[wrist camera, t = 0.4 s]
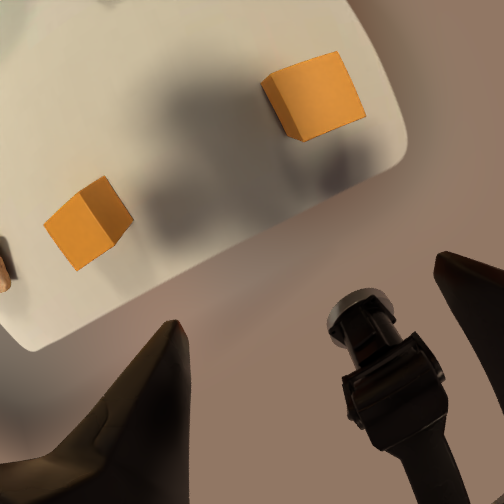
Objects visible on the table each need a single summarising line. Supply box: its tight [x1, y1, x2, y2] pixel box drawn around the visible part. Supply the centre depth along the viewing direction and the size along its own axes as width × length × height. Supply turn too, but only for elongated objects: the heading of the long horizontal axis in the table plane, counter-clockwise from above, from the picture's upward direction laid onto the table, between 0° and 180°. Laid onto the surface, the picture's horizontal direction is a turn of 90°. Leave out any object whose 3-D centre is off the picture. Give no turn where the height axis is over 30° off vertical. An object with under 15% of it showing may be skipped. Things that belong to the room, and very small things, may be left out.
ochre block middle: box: [44, 176, 133, 271], centre depth 18 cm, size 4×4×4 cm
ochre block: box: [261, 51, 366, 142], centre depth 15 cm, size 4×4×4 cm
